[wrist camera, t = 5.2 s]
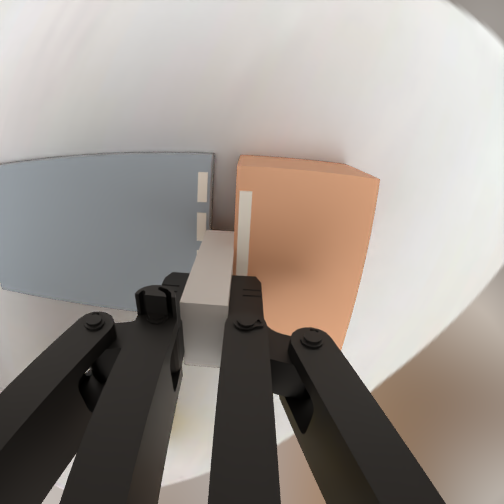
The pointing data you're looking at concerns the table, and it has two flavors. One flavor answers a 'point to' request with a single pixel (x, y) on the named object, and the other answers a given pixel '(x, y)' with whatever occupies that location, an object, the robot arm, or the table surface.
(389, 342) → the table surface
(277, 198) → the peach rectangular block
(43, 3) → the table surface
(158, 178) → the board
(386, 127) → the table surface
